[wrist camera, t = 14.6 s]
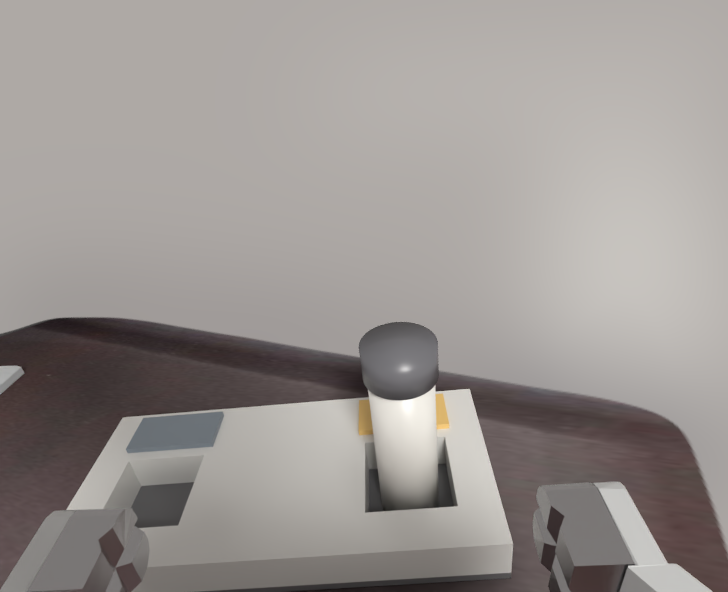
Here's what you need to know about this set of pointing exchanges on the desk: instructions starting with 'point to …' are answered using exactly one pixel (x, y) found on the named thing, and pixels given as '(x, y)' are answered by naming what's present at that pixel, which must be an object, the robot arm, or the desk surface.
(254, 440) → the socket board
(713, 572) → the desk surface
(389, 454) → the grey capped white cylinder
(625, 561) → the robot arm
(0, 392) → the external hard drive
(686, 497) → the desk surface
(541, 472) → the desk surface
